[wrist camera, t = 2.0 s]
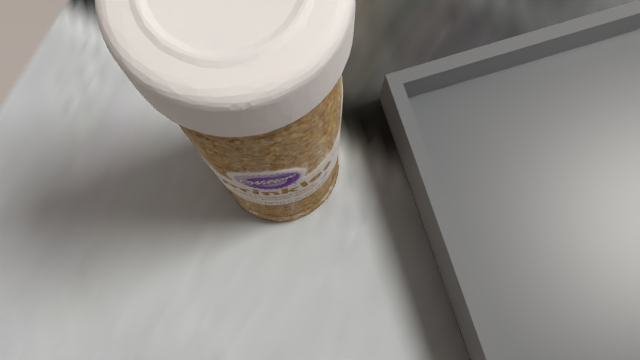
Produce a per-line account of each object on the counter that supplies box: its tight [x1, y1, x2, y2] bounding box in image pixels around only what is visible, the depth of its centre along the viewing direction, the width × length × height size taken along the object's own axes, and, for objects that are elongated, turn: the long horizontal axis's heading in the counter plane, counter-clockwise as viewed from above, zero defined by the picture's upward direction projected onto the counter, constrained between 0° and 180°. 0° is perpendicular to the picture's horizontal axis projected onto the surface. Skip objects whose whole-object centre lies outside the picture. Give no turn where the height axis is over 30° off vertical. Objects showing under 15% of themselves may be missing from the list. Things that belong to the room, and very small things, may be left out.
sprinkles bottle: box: [95, 0, 355, 221], centre depth 16 cm, size 5×5×14 cm
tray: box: [380, 0, 640, 360], centre depth 21 cm, size 13×13×2 cm
